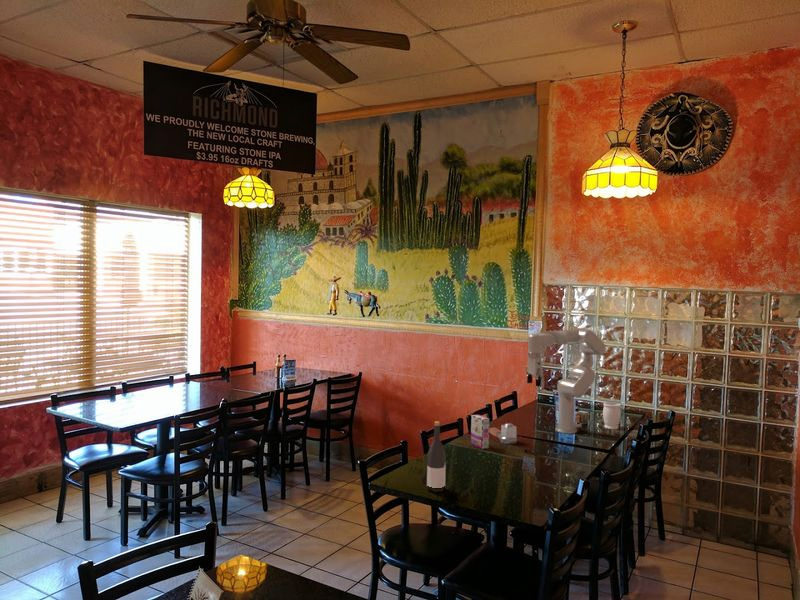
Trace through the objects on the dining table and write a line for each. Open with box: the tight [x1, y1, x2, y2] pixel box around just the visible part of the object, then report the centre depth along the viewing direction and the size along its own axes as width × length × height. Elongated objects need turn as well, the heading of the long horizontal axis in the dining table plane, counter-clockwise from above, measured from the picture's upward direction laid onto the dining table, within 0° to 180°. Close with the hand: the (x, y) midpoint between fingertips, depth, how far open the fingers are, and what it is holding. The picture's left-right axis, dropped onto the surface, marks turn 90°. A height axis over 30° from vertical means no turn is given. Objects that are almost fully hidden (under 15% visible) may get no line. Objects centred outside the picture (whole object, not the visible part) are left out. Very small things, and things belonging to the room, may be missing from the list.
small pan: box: [489, 426, 518, 445], centre depth 341 cm, size 9×26×7 cm, turn 17°
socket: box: [500, 422, 517, 439], centre depth 333 cm, size 6×6×7 cm
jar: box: [602, 401, 622, 430], centre depth 367 cm, size 11×10×15 cm
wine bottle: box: [426, 421, 447, 488], centre depth 259 cm, size 8×8×30 cm
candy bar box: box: [470, 414, 491, 450], centre depth 324 cm, size 11×5×16 cm, turn 27°
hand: (533, 384), depth 345 cm, fingers open, 9 cm apart
